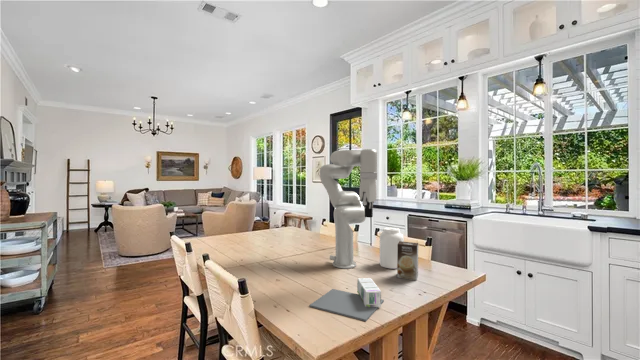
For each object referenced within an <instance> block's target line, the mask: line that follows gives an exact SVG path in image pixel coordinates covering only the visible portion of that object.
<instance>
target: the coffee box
mask: <svg viewBox="0 0 640 360" xmlns="http://www.w3.org/2000/svg"><path fill="white" fill-rule="evenodd" d="M396 278H398V279H399V278H400V279H404V280H409V281H410V280H412V281H417V280H418V278H419V242H411V241H404V242H402V241H399V243H398V253H397V269H396Z"/></svg>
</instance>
